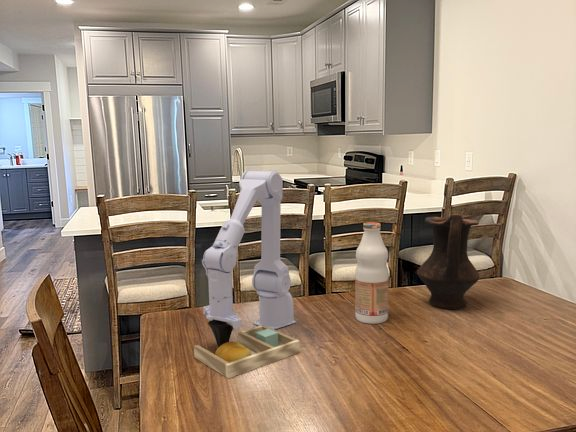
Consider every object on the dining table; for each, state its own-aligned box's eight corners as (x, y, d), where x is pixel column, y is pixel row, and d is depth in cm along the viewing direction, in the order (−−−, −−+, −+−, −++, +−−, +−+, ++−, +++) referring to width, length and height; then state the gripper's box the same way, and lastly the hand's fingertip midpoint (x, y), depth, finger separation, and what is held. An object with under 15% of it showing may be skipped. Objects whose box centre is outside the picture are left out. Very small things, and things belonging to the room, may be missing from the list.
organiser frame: (263, 335, 140) (263, 324, 140) (299, 352, 129) (299, 340, 128) (194, 357, 127) (193, 345, 127) (228, 378, 116) (227, 365, 115)
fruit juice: (354, 323, 148) (354, 226, 143) (356, 312, 157) (356, 220, 153) (388, 325, 146) (388, 226, 142) (388, 314, 155) (388, 220, 151)
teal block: (268, 343, 135) (268, 328, 135) (278, 347, 132) (277, 332, 131) (256, 347, 133) (255, 332, 132) (265, 352, 130) (265, 336, 129)
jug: (413, 294, 173) (415, 205, 169) (471, 295, 171) (474, 204, 166) (420, 316, 153) (422, 214, 148) (486, 317, 150) (490, 214, 145)
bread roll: (227, 371, 120) (227, 355, 119) (210, 358, 127) (210, 342, 126) (258, 362, 124) (258, 346, 124) (240, 350, 132) (240, 334, 131)
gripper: (191, 292, 131) (194, 344, 133) (223, 306, 120) (225, 362, 122) (215, 286, 135) (217, 336, 137) (248, 299, 124) (250, 353, 126)
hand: (223, 348), depth 130 cm, fingers closed
